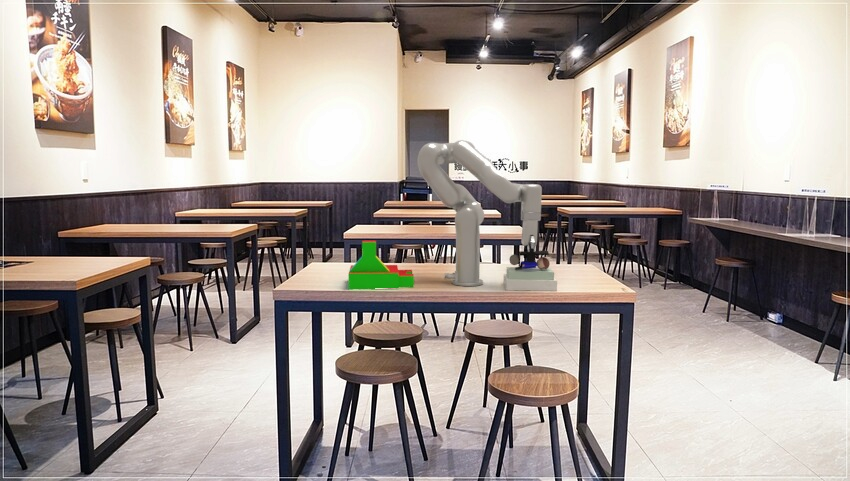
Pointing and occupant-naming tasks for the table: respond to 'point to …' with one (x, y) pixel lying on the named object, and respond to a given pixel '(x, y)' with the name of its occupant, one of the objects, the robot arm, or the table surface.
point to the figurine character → (541, 262)
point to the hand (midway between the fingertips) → (529, 260)
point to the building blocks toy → (377, 272)
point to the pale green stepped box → (530, 279)
